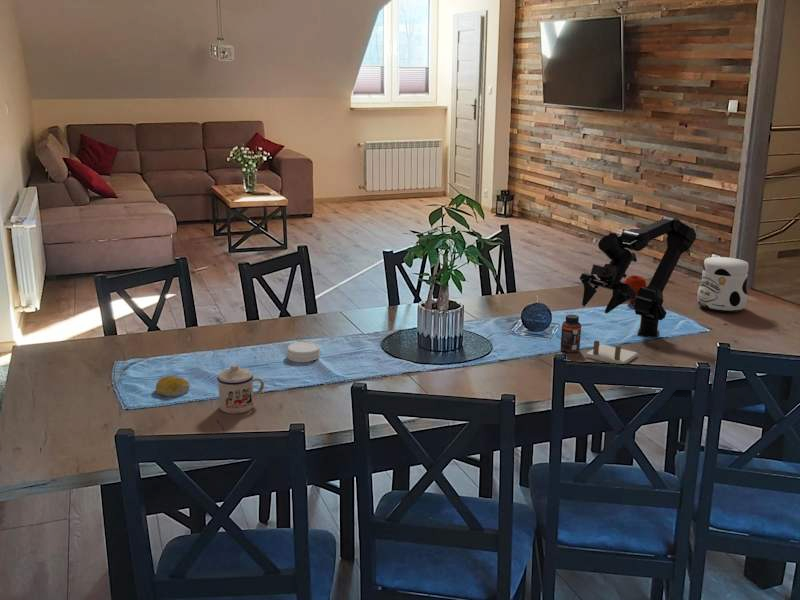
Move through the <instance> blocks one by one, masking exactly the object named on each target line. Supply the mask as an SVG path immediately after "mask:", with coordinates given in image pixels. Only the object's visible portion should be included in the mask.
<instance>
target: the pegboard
mask: <svg viewBox="0 0 800 600" xmlns="http://www.w3.org/2000/svg"><path fill="white" fill-rule="evenodd" d="M585 357H586V358H589V359H592V360H596V361H601V362H605V363H608V362H611V363H610V364H612V363H626V364H628V363H629V362H631V361H633V360H634V359H635V358H637V357H638V352H635V351H632V350H628V349H624V348H622V347H621V346H620V345H615V347H614V346H611V345H606V344H600V341H599V340H594V341H593V349H591V350H589V351H587V352H586V353H585Z"/></svg>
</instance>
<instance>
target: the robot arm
mask: <svg viewBox="0 0 800 600" xmlns="http://www.w3.org/2000/svg"><path fill="white" fill-rule="evenodd" d="M695 231H696V230H695V229H694V228H693V227H691V226H689V225H687V224H685V223H684V222H682V221H681V220H680V219H678V218H676V217H674V216H668V215H666V216H663V217H662V218H661V219H660V220H657V221H654V222H652V223H649V224H648V225H646V226H644V227H641V228H631V229H627V230H626V229H625V230H623V231H622V232H621V234H619V235H618V234H617V233H616V232H614V231H613V232H612V231H610V232H609V234H607V235H604V236H603V237H602V238H601V239H599V241H598V244H597V245H598V247H597V248H598V249H599V250H600V251H601V252H602V253H603V254H604V255H605V257H607V258H608V259H610V261H609V263H605V264H604V265H603V266H601V265H598V264H592V268H591V271H590V273H589V272H583V273H581V275H580V277H579V278H578V279H579V280H580V282H581V284H583V295H582V296H583V297H582V302H581V305H582V306H583V307H585V306H586V305H587V304H588V303H589V302H590V300H591V299H592V298H593V297H594V295H596V293H597V291H598V290H597V289H599V287H600V288H603V289H607V290H611V291H612V296H611V298H610V300H609V302H608V304H607V305H606V307H605V310H604V313H605V314H608V313H610V312H612V311H613V310H615V309H616V308H617V307H618V306H620V305H622V304H624V303H625V302H630V301H629V299H630V300H633V299H634V297H635V300H634V303H633V307H634V312H635V315H636V316H637V315H638V316H640V322H639V323H640V325H639V328H638V331H637V336H640V335H643V336H642V337H649V336H650V338H659V333H660V331H659V329H658V328H659V321H663V320H665V318H666V315H667V311H666V310H665V308H664V307H663V303H664V295H663V292H664V290H665V287H666V286H667V284H668V282H669V279H670V278H671V276H672V274H673V272H674V270H675V267H676V266H677V264H678V262H679V260H680V258H681V256H682V254H684V253H685V252H686V251H688V250H690V248H691V247H692V246H693V244H694V242H695V241H696V240H697V239H696V238H697V233H696V232H695ZM664 235H667V237H666V247H667V248H666V249H665V252H664V254H663V255H662V257H661V259H660V262H659V264H658V265H657V268H656V270H655V272H654V274H653V275H652V277H651V279H650V282H649V283H648V285H646V288H642V287H641V288H640V289H639V291H638V294H637V295H636V292H635V290H634V289H633V288H632V287H631V286H630V285H628V284H625V283H624V282H621V281H622V280H623V279H627V277H628V276H627V274H626V273H627V270H628V269H629V267H630V265H631V263H632V262H634V263H637V262H638V260H637V256H636V253H635V251H636V252H641V251H642V250H644V249H645V248H646V247H647V246H649V243H650V242H651V241H653V240H655V239H657V238H659V237H662V236H664ZM632 251H634V252H632ZM595 275H596V276H595Z"/></svg>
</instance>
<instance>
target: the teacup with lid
mask: <svg viewBox="0 0 800 600" xmlns="http://www.w3.org/2000/svg"><path fill="white" fill-rule="evenodd" d="M216 379H217V381H218V394H219V395H218V396H219V397H218V399H219V400H218V401H219V408H220V411H222V412H223V413H226V414H232V415H234V414H244V413H246V412H249V411H251V410H252V409H253V407H254V397H257V396H260V395H261V393H262V392H263V391H264V389H265V388H264V387H265V382H264V380H263V379H262V378H260V377H254V375H253V373H252V371H251V370H249V369H246V368H241V367H240V366H239V365H238V364H232V365H231V366H230V368H228V369H225V370H223V371H221V372H220V373H219V374H218V375H217V378H216ZM254 382H260V387H259V389H258V390H257V391H256V392H254V388H253V386H254V385H253V383H254Z"/></svg>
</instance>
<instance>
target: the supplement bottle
mask: <svg viewBox="0 0 800 600" xmlns="http://www.w3.org/2000/svg"><path fill="white" fill-rule="evenodd" d="M579 320H580V316H579V315H577V314H572V313H571V314H566V315H565V321H563V322H562V324H561V333H560V334H561V335H560V350H561V349H562V350H563V352H564V351H566V352H565V353H569V352H570V353H569V354H571V352H572V354H573V353H578V352H579V351H580V347H581V336H582V335H581V334H582V324H581V322H579ZM562 350H561V351H562Z"/></svg>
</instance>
